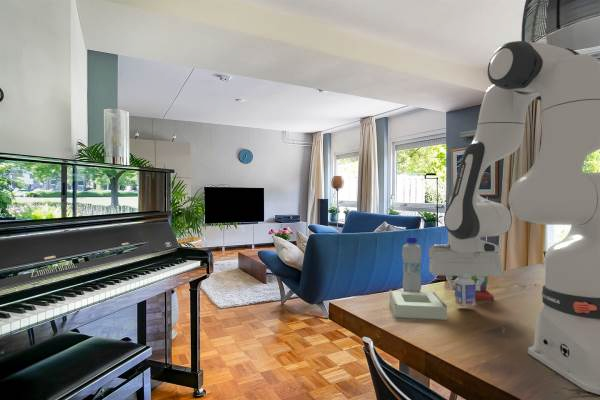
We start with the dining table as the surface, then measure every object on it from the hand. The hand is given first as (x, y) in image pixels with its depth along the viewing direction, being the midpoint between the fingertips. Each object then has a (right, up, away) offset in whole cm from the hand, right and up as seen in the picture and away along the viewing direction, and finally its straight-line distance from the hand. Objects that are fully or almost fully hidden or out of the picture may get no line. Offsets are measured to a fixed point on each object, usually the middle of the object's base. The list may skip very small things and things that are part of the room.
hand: (464, 290), depth 101 cm
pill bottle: (0, -4, 0) cm, 4 cm away
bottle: (-10, -6, +18) cm, 21 cm away
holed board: (-15, -6, -1) cm, 16 cm away
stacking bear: (+9, -6, +14) cm, 17 cm away
